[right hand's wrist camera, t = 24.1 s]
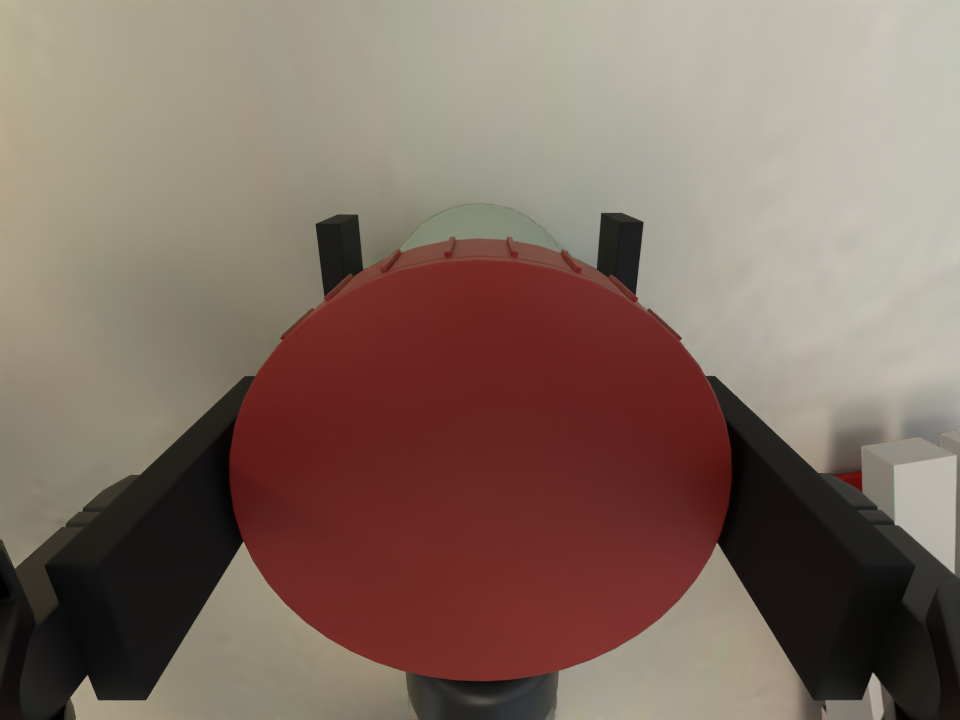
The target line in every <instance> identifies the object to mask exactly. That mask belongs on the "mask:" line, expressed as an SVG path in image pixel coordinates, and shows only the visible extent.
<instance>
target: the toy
mask: <svg viewBox="0 0 960 720" xmlns="http://www.w3.org/2000/svg"><path fill="white" fill-rule="evenodd" d="M861 458H862V471H860V472H854V473H849V474H843V475H838V476H836V477H838V478H839V479H841V480H843V481H845V482H847V483H848V484H850V485H852V486H854V487H856V488H857V489H858V490H860V491H861V492H862V493H863V494H864V495H865V496H866V497H868V498H869V499H870V500H871V501H872V502H873V503H874V504H875V505H877V506H878V510H882V511H883V512H884V513H886V514H887V515H888V516H889V517H890V518H891V519H892V520H894V521H895V522H894V523H895V525H899V526H900V527H901V528H903V529H904V530H905V531H906V532H907V533H908V534H909V535H910V536H912V537H913V538H914V539H915V540H916V541H917V542H918V543H920V544H921V545H922V546H923V547H924V548H925V549H926V550H927V551H929V552H930V553H931V554H932V555H933V556H934V557H935V558H937V559H938V560H939V561H940V562H941V563H942V564H943V565H944V566H946V567H947V568H948V569H949V570H950V571H951V572H952V573H953V574H955V575H956V576H957V577H958V578H960V430H957V431H951V432H945V433H939V447H938V446H936V445H934V444H932V443H930V442H928V441H926V440H924V439H922V438H920V437H914V438H908V439H902V440H896V441H890V442H884V443H878V444H872V445H866V446H861ZM890 697H891V695H890V694H889V693H888V692H887V690H886V689H885V688H884V686H883V685H882V684H881V682H880V681H879V680H878V678H877V677H876V676H875V674H874V673H873V674H872V676H871V679H870V681H869V684H868V686H867V689H866V691H865V694H864V696H863V699H862V700H825V702H826V705H825V706H821V709H822V720H881V718H882V715H883V713H884V711H885V708H886V706H887V704H888V701H889V699H890Z"/></svg>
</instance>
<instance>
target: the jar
mask: <svg viewBox="0 0 960 720" xmlns="http://www.w3.org/2000/svg"><path fill="white" fill-rule="evenodd" d="M454 236H455V240H462V239H475V238H482V239H500V240H507V237H512V238H513V241H517V242H522V243H528V244H533V245H538V246H542V247H545V248H548V249H551V250H554V251H557V252H560V253H561V251H562V249H561V248H560V247H559V246H558V244H557V243H556V242H555V241H554V240H553V239H552V237H551V236H550V235H549V234H548V233H547V232H546V231H545V230H544V229H543V228H542V227H541V226H540V225H538V224H537V223H536V222H534V221H533V220H532V219H530V218H529V217H527V216H525V215H523V214H522V213H520V212H517V211H515V210H512V209H510V208H506V207H502V206H498V205H491V204H468V205H463V206H457V207H454V208H451V209H448V210H445V211H443V212H441V213H439V214H437V215H435V216H433V217H432V218H430V219H429V220H427V221H426V222H424V223H423V224H422V225H421V226H420V227H419V228H417V229H416V230H415V231H414V233H413V234H412V235H411V236H410V237H409V238H408V239H407V241H406V242H405V243H404V244H403V245H402V246H401V248H400V251H401V253H402V252H404V251H407V250H410V249H413V248H415V247H420V246H424V245H429V244H434V243H438V242H443V241H449V238H450V237H454Z"/></svg>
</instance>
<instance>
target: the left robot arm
mask: <svg viewBox="0 0 960 720" xmlns="http://www.w3.org/2000/svg"><path fill="white" fill-rule="evenodd" d="M643 223H644V222H642V221H640V220H638V219H635V218H633V217H630V216H628V215H625V214H623V213H601V224H600V236H599V249H598V262H597V270H598V271H600V272H601V273H602V274H604V275H605V276H607V277H609V276H610V274H611V275H613V276H614V277H615V278H616V279H618V280H619V281H620V282H621V283H622V284H623V285H624V286H625V287H626V288H628V289H629V290H630V291H631V292H632V293H633V294H634V295H635V296H636V286H637V277H638V268H639V259H640V250H641V241H642V232H643ZM316 231H317V239H318V247H319V255H320V264H321V272H322V280H323V288H324V297H325V296H326V295H327V294H328V293H329V292H331V291H332V290H333V289H334V288H335V287H336V286H337V285H338V284H339V283H340V282H341V281H343V280H344V279H345V278H346V277H347V276H348V275H350V274H352V276H353V277H354V276H355V275H357V274H358V273H360V272H361V271H363V265H362V254H361V243H360V232H359V221H358V215H336V216H333V217H331V218H329V219H326V220H324V221H321V222H319V223H317V224H316ZM558 673H559V671H555V672H550V673H546V674H542V675H538V676H532V677H525V678H518V679H511V680H494V681H466V680H451V679H443V678H436V677H428V676H424V675H419V674H415V673H410V672H406V680H407V689H408V703H409V714H410V720H555V717H556V706H557V696H556V692H557V687H558Z"/></svg>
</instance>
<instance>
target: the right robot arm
mask: <svg viewBox="0 0 960 720" xmlns="http://www.w3.org/2000/svg"><path fill="white" fill-rule="evenodd" d="M255 377H256V376H245V377H244V378H243V379H241V380H240V381H239V382H238V383H237V384H236V385H235V386H234V387H233V388H232V389H231V390H230V391H229V392H228V393H227V394H226V395H224V396H223V397H222V398H221V399H220V400H219V401H218V402H217V403H216V404H215V405H214V406H213V407H212V408H211V409H210V410H209V411H207V412H206V413H205V414H204V415H203V416H202V417H201V418H200V419H199V420H198V421H197V422H196V423H195V424H194V425H193V426H192V427H191V428H189V429H188V430H187V431H186V432H185V433H184V434H183V435H182V436H181V437H180V438H179V439H178V440H177V441H176V442H175V443H174V444H172V445H171V446H170V447H169V448H168V449H167V450H166V451H165V452H164V453H163V454H162V455H161V456H160V457H159V458H158V459H157V460H155V461H154V462H153V463H152V464H151V465H150V466H149V467H148V468H147V469H146V470H145V471H144V472H143V473H142V474H141V475H130V476H128V477H126V478H124V479H122V480H121V481H119V482H117V483H115V484H114V485H112V486H110V487H108V488H106V489H105V490H103V491H102V492H101V493H100V494H98V495H97V496H96V497H95V498H94V499H93V500H92V501H91V502H89V503H88V504H87V505H86V506H85V507H84V508H83V511H82V512H78V513H77V514H76V515H75V516H74V517H73V518H71V519H70V520H69V521H68V522H67V523H66V527H61V528H60V529H59V530H58V531H57V532H56V533H55V534H54V535H52V536H51V537H50V538H49V539H48V540H47V541H46V542H45V543H43V544H42V545H41V546H40V547H39V548H38V549H37V550H36V551H34V552H33V553H32V554H31V555H30V556H29V557H28V558H27V559H25V560H24V561H23V562H22V563H21V564H20V565H19V566H18V567H16V568H15V569H14V567H13V564H12V562H11V560H10V557H9V555H8V553H7V550H6V548H5V546H4V543H3V541H2V540H1V539H0V720H75V719H76V716H75V711H74V706H73V704H72V701H71V699H70V697H71V696H72V694H73V693H74V692H75V691H76V689H77V688H78V687H79V685H80V684H81V683H82V681H83V680H84V679H85V677H86V676H87V675H88V676H89V679H90V681H91V684H92V686H93V689H94V691H95V694H96V696H97V699H98V700H146V699H147V698H148V696H149V695H150V693H151V691H152V690H153V688H154V686H155V685H156V683H157V682H158V680H159V678H160V677H161V675H162V673H163V672H164V670H165V668H166V667H167V665H168V664H169V662H170V660H171V659H172V657H173V655H174V654H175V652H176V650H177V649H178V647H179V646H180V644H181V642H182V641H183V639H184V637H185V636H186V634H187V633H188V631H189V629H190V628H191V626H192V624H193V623H194V621H195V619H196V618H197V616H198V615H199V613H200V611H201V610H202V608H203V606H204V605H205V603H206V601H207V600H208V598H209V597H210V595H211V593H212V592H213V590H214V588H215V587H216V585H217V584H218V582H219V580H220V579H221V577H222V575H223V574H224V572H225V570H226V569H227V567H228V566H229V564H230V562H231V561H232V559H233V557H234V556H235V554H236V552H237V551H238V549H239V548H240V546H241V544H242V543H243V539H242V537H241V533H240V530H239V527H238V524H237V521H236V517H235V514H234V511H233V505H232V498H231V491H230V485H229V459H230V449H231V443H232V437H233V432H234V426H235V423H236V420H237V417H238V414H239V411H240V408H241V406H242V403H243V400H244V397H245V395H246V394H247V392H248V390H249V388H250V386H251V383H252V381H253V380H254V379H255ZM706 378H707V380H708V381H709V383H710V385H711V387H712V389H713V390H714V392H715V395H716V397H717V400H718V403H719V405H720V408H721V411H722V413H723V416H724V418H725V421H726V426H727V431H728V436H729V441H730V446H731V460H732V484H731V492H730V500H729V507H728V510H727V514H726V518H725V521H724V525H723V528H722V532H721V534H720V536H719V539H718V541H717V543H718V544H719V546H720V548H721V549H722V551H723V553H724V554H725V556H726V557H727V559H728V561H729V562H730V564H731V566H732V567H733V569H734V570H735V572H736V574H737V575H738V577H739V579H740V580H741V582H742V584H743V585H744V587H745V588H746V590H747V592H748V593H749V595H750V597H751V598H752V600H753V602H754V603H755V605H756V606H757V608H758V610H759V611H760V613H761V615H762V616H763V618H764V619H765V621H766V623H767V624H768V626H769V628H770V629H771V631H772V633H773V634H774V636H775V637H776V639H777V641H778V642H779V644H780V646H781V647H782V649H783V650H784V652H785V654H786V655H787V657H788V659H789V660H790V662H791V664H792V665H793V667H794V668H795V670H796V672H797V673H798V675H799V677H800V678H801V680H802V682H803V683H804V685H805V686H806V688H807V690H808V691H809V693H810V695H811V696H812V698H813V699H814V700H862V699H863V696H864V694H865V691H866V689H867V686H868V684H869V681H870V679H871V676H872V674H873V673H874V674H875V676H876V677H877V678H878V680H879V681H880V682H881V684H882V685H883V686H884V688H885V689H886V690H887V692H888V693H889V694H890V695H891V697H890V699H889V701H888V704H887V706H886V708H885V711H884V713H883V715H882V718H881V720H960V578H958V577H957V576H956V575H955V574H953V573H952V572H951V571H950V570H949V569H948V568H947V567H946V566H944V565H943V564H942V563H941V562H940V561H939V560H938V559H937V558H935V557H934V556H933V555H932V554H931V553H930V552H929V551H927V550H926V549H925V548H924V547H923V546H922V545H921V544H920V543H918V542H917V541H916V540H915V539H914V538H913V537H912V536H910V535H909V534H908V533H907V532H906V531H905V530H904V529H903V528H901V527H900V526H899V525H895V523H894V522H895V521H894V520H892V519H891V518H890V517H889V516H888V515H887V514H886V513H884V512H883V511H882V510H878V506H877V505H875V504H874V503H873V502H872V501H871V500H870V499H869V498H868V497H866V496H865V495H864V494H863V493H862V492H861V491H860V490H858V489H857V488H856V487H854V486H852V485H850V484H848V483H847V482H845V481H843V480H841V479H839V478H838V477H836V476H834V475H832V474H830V473H817V472H816V471H815V470H814V469H813V468H812V467H811V466H810V465H809V464H808V463H807V462H806V461H805V460H803V459H802V458H801V457H800V456H799V455H798V454H797V453H796V452H795V451H794V450H793V449H792V448H791V447H790V446H789V445H788V444H786V443H785V442H784V441H783V440H782V439H781V438H780V437H779V436H778V435H777V434H776V433H775V432H774V431H773V430H772V429H771V428H769V427H768V426H767V425H766V424H765V423H764V422H763V421H762V420H761V419H760V418H759V417H758V416H757V415H756V414H755V413H754V412H752V411H751V410H750V409H749V408H748V407H747V406H746V405H745V404H744V403H743V402H742V401H741V400H740V399H739V398H738V397H737V396H736V395H734V394H733V393H732V392H731V391H730V390H729V389H728V388H727V387H726V386H725V385H724V384H723V383H722V382H721V381H720V380H719V379H717V378H716V377H715V376H706Z"/></svg>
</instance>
